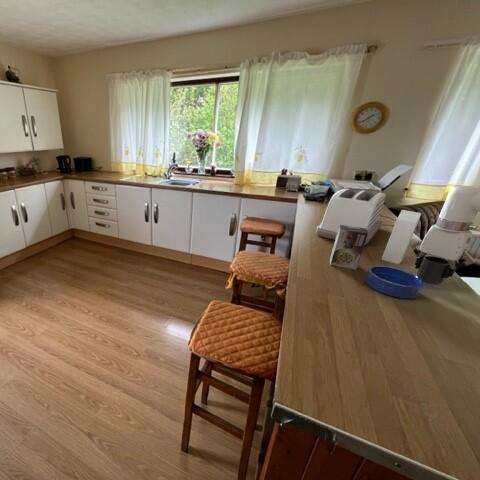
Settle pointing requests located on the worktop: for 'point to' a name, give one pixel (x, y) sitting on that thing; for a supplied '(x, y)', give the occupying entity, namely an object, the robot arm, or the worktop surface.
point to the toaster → (352, 212)
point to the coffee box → (348, 246)
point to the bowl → (393, 282)
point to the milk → (401, 236)
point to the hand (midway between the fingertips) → (431, 272)
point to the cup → (432, 270)
